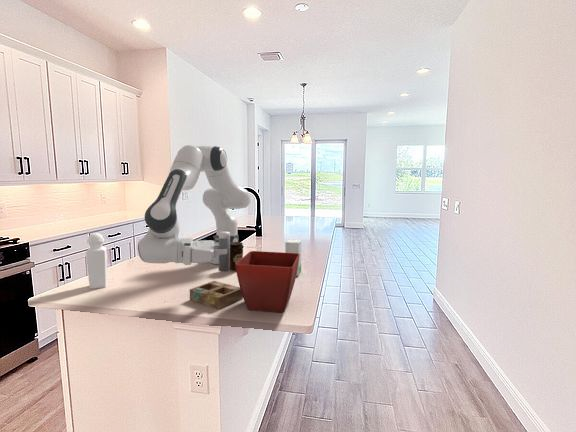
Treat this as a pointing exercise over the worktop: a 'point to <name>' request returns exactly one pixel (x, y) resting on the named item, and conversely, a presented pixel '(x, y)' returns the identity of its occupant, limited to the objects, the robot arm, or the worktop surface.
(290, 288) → the plant pot
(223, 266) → the grey cylinder
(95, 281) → the white bottle
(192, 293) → the socket deck
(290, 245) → the skincare box
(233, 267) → the coffee cup
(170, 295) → the worktop surface
